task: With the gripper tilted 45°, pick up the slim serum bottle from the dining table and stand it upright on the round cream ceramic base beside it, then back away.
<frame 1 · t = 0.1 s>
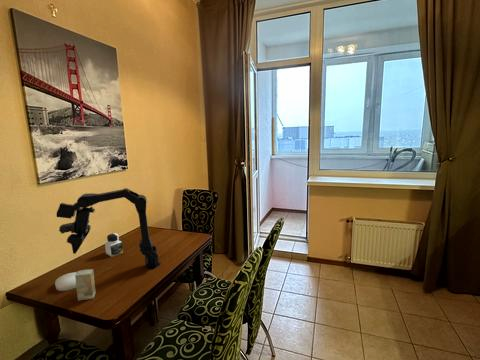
hand: (76, 249, 127), 15 cm above the table, tool pointing down, fingers open, 9 cm apart
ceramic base: (69, 284, 125), on the table
skincare box: (87, 297, 115), on the table
medicine bottle: (114, 253, 156), on the table
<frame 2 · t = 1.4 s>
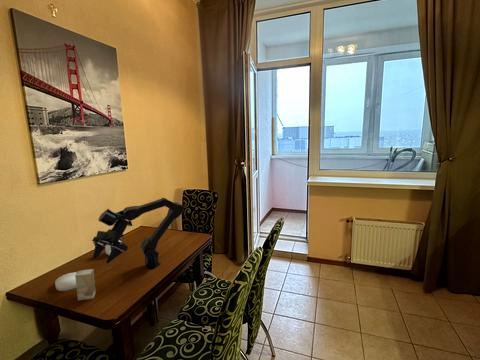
hand: (100, 261, 119), 13 cm above the table, tool tilted 45°, fingers open, 9 cm apart
nothing on the table moved.
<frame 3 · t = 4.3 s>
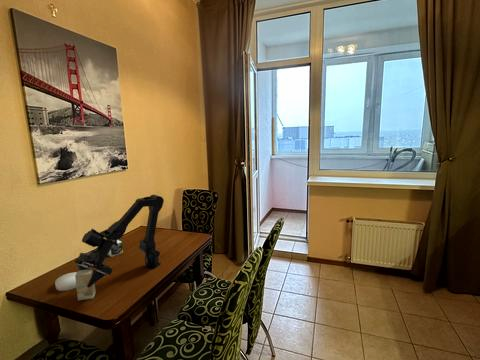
hand: (82, 285, 112), 7 cm above the table, tool tilted 45°, fingers closed on skincare box, 7 cm apart
skincare box: (87, 297, 115), on the table, touching gripper
everything else where it was.
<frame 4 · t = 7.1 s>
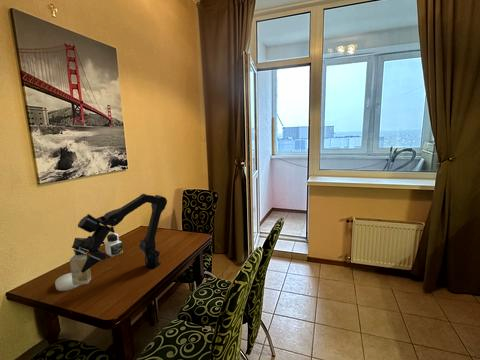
hand: (77, 270, 112), 13 cm above the table, tool tilted 45°, fingers closed on skincare box, 7 cm apart
skincare box: (82, 282, 115), point 7 cm above the table, touching gripper
everything else where it was.
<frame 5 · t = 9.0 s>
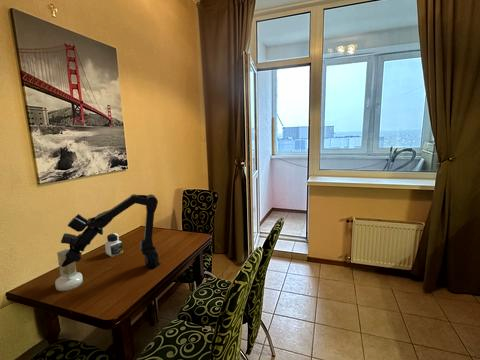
hand: (63, 263, 122), 11 cm above the table, tool tilted 45°, fingers closed on skincare box, 7 cm apart
skincare box: (69, 275, 124), point 5 cm above the table, touching gripper
everything else where it was.
when the fingers open (11 cm above the table, at t = 10.1 s): skincare box drops 1 cm, resting on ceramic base.
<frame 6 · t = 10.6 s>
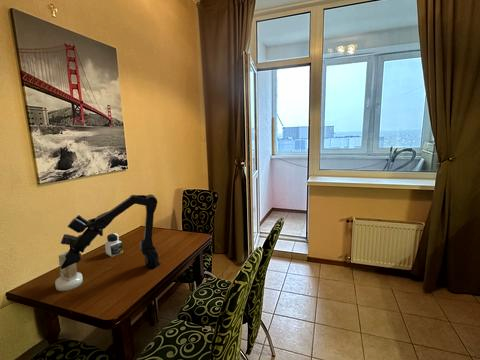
hand: (63, 263, 122), 11 cm above the table, tool tilted 45°, fingers open, 9 cm apart
skincare box: (69, 278, 124), point 3 cm above the table, touching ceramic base
everything else where it was.
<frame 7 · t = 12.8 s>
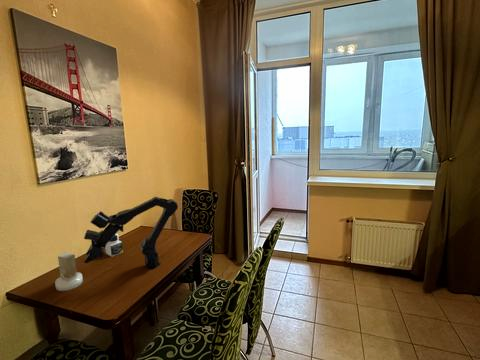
hand: (85, 258, 126), 12 cm above the table, tool tilted 45°, fingers open, 9 cm apart
nothing on the table moved.
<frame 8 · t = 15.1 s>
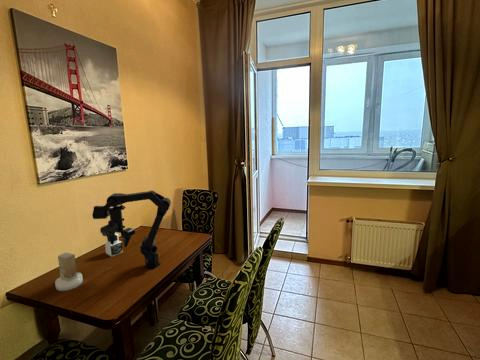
hand: (119, 245, 136), 13 cm above the table, tool pointing down, fingers open, 9 cm apart
nothing on the table moved.
at the end: skincare box 0.1 cm off-centre on the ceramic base, point 2.8 cm above the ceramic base's base; skincare box tilted 0°; the gripper is holding nothing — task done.
